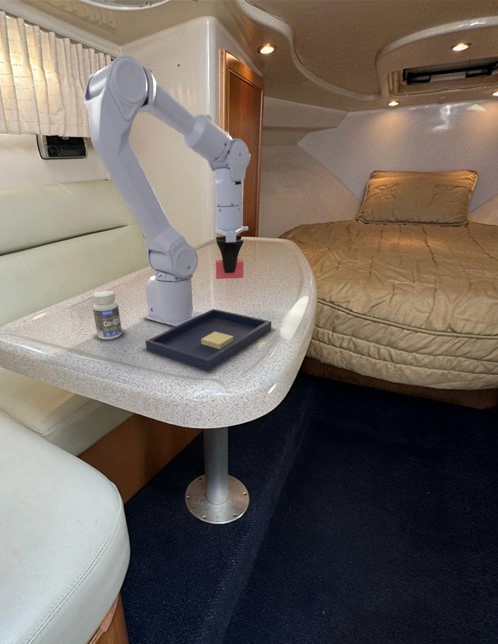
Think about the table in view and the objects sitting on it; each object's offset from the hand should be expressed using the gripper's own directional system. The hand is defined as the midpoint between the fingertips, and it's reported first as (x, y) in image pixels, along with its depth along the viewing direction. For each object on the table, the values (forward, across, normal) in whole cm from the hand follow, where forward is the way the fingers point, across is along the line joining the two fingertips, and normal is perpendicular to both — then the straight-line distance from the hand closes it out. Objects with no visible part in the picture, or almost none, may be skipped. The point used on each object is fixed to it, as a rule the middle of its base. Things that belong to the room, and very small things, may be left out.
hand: (229, 270), depth 82 cm
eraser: (+1, 0, 0) cm, 1 cm away
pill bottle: (+8, -18, +24) cm, 31 cm away
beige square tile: (+7, -24, +3) cm, 25 cm away
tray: (+8, -21, +4) cm, 23 cm away
